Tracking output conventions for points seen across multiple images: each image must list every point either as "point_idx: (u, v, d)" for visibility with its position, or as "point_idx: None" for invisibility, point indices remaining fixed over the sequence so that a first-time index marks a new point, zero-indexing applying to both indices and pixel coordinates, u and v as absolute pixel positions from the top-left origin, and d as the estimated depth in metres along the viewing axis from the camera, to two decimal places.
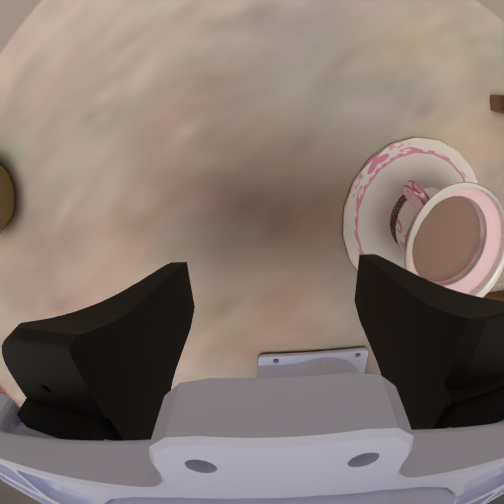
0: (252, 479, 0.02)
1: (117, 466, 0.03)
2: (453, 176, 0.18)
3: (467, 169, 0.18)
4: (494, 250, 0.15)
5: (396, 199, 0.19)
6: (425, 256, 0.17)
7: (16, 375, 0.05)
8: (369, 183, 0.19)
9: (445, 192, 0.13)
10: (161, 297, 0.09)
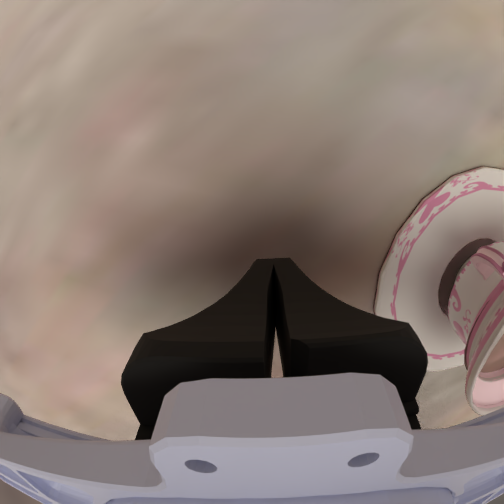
0: (252, 479, 0.02)
1: (117, 466, 0.03)
2: None
3: None
4: None
5: (451, 256, 0.12)
6: None
7: (139, 401, 0.05)
8: (419, 235, 0.12)
9: None
10: (269, 295, 0.09)
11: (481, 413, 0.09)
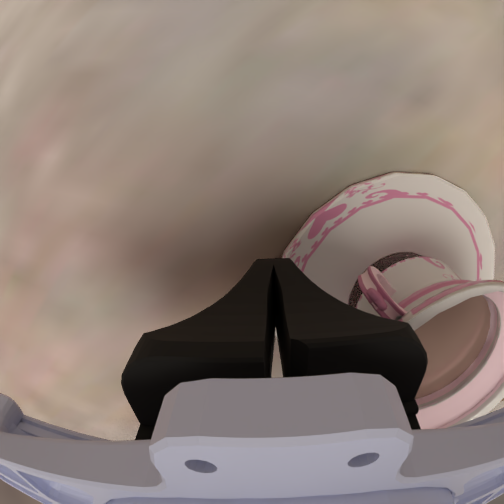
0: (252, 479, 0.02)
1: (117, 466, 0.03)
2: (456, 230, 0.12)
3: (479, 219, 0.11)
4: None
5: (359, 272, 0.13)
6: None
7: (139, 401, 0.05)
8: (313, 251, 0.13)
9: (433, 311, 0.07)
10: (269, 295, 0.09)
11: None
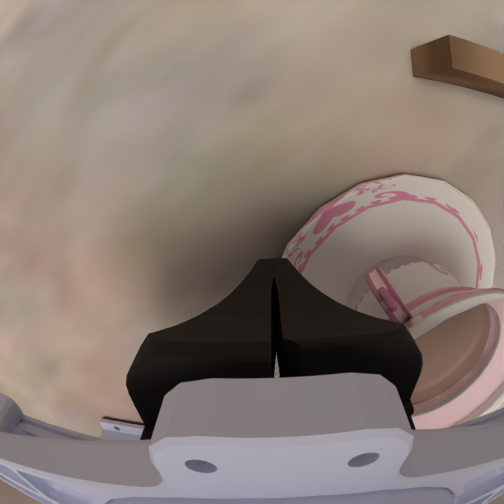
0: (252, 479, 0.02)
1: (117, 466, 0.03)
2: (460, 238, 0.12)
3: (483, 229, 0.11)
4: (501, 371, 0.09)
5: (361, 273, 0.13)
6: None
7: (143, 401, 0.05)
8: (316, 247, 0.12)
9: (444, 315, 0.06)
10: (273, 294, 0.09)
11: None
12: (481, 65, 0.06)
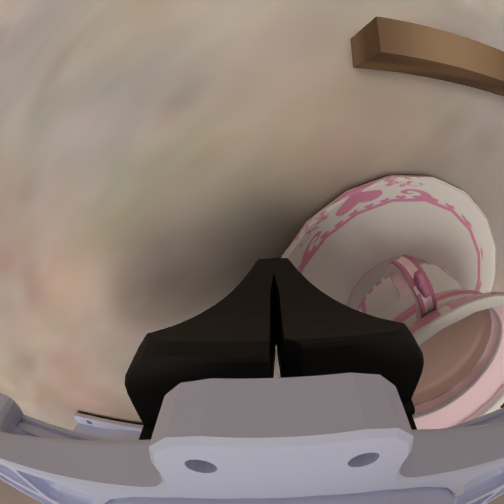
0: (252, 479, 0.02)
1: (117, 466, 0.03)
2: (467, 252, 0.12)
3: (489, 247, 0.11)
4: (492, 385, 0.09)
5: (371, 266, 0.12)
6: None
7: (142, 401, 0.05)
8: (334, 230, 0.12)
9: (473, 308, 0.06)
10: (272, 294, 0.09)
11: None
12: (419, 46, 0.07)
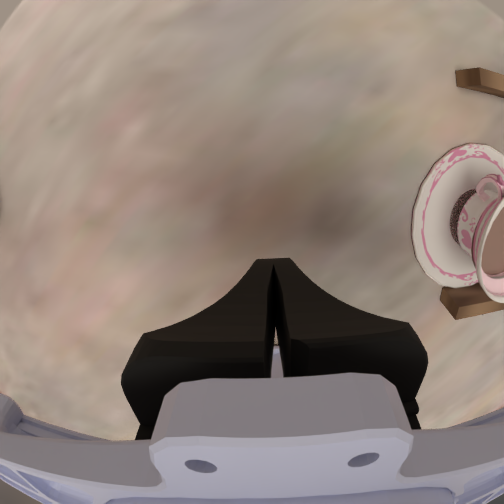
0: (252, 479, 0.02)
1: (117, 466, 0.03)
2: None
3: None
4: None
5: (461, 193, 0.19)
6: (485, 246, 0.16)
7: (139, 401, 0.05)
8: (446, 170, 0.18)
9: None
10: (269, 295, 0.09)
11: (484, 286, 0.15)
12: (494, 82, 0.13)
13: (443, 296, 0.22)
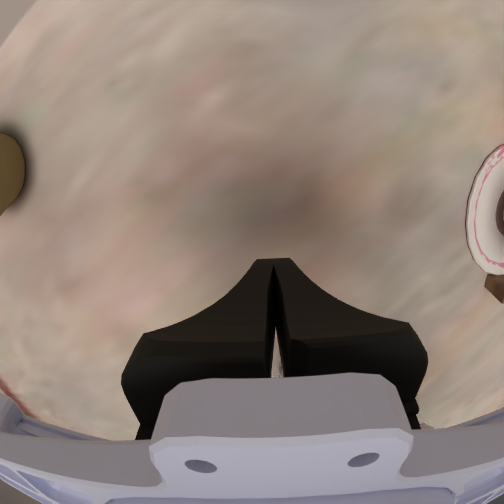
0: (252, 479, 0.02)
1: (117, 466, 0.03)
2: None
3: None
4: None
5: None
6: None
7: (139, 401, 0.05)
8: (494, 165, 0.18)
9: None
10: (269, 295, 0.09)
11: None
12: None
13: (488, 283, 0.21)
